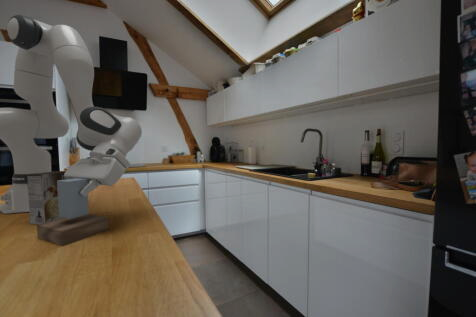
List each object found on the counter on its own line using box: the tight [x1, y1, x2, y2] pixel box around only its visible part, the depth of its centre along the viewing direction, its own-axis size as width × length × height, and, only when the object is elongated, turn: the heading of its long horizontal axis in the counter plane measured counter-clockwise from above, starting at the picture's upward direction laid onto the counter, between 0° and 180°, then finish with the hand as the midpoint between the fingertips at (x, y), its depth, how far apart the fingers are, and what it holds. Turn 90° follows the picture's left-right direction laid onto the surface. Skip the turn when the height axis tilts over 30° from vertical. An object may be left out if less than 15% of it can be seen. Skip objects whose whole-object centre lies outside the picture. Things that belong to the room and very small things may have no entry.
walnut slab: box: [36, 213, 110, 247], centre depth 64 cm, size 12×12×4 cm
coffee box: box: [27, 170, 67, 225], centre depth 76 cm, size 9×6×16 cm
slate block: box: [57, 178, 90, 219], centre depth 63 cm, size 5×5×10 cm
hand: (74, 194), depth 64 cm, fingers closed on slate block, 5 cm apart
